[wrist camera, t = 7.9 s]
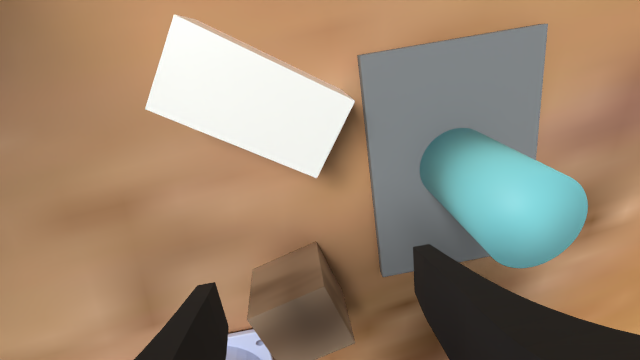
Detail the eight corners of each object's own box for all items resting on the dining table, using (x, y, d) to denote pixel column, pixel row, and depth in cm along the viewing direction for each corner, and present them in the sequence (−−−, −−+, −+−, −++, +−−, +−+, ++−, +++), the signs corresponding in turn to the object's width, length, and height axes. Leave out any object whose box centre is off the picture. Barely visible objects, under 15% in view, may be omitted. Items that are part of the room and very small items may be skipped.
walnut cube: (342, 290, 24) (355, 342, 20) (283, 316, 25) (284, 372, 20) (315, 240, 23) (324, 286, 18) (252, 268, 23) (246, 319, 19)
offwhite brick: (340, 88, 19) (355, 100, 16) (310, 153, 20) (316, 178, 17) (196, 19, 17) (173, 14, 14) (171, 94, 18) (144, 109, 15)
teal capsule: (490, 190, 22) (580, 256, 15) (421, 204, 22) (482, 277, 15) (492, 121, 20) (595, 163, 14) (417, 136, 20) (485, 185, 13)
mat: (522, 243, 24) (527, 248, 24) (380, 271, 24) (382, 277, 23) (540, 24, 19) (547, 23, 18) (357, 55, 19) (359, 55, 18)
